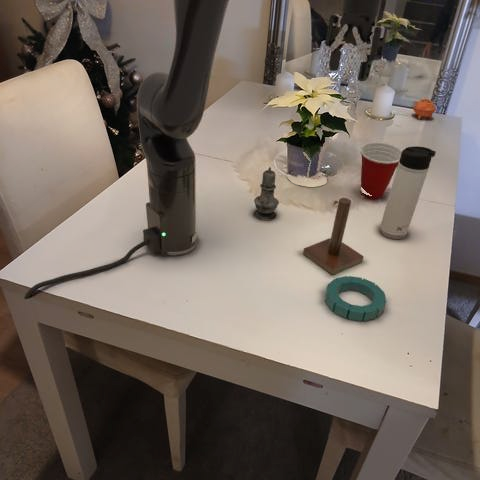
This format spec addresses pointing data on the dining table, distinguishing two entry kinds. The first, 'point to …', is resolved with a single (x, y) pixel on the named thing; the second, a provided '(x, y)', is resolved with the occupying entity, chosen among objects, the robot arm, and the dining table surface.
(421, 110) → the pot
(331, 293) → the ring
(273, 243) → the dining table surface
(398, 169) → the travel mug
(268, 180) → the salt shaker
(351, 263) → the post
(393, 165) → the plastic cup
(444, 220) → the dining table surface
